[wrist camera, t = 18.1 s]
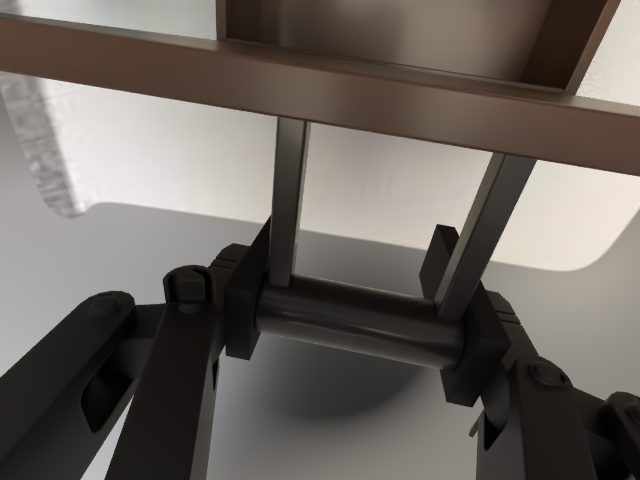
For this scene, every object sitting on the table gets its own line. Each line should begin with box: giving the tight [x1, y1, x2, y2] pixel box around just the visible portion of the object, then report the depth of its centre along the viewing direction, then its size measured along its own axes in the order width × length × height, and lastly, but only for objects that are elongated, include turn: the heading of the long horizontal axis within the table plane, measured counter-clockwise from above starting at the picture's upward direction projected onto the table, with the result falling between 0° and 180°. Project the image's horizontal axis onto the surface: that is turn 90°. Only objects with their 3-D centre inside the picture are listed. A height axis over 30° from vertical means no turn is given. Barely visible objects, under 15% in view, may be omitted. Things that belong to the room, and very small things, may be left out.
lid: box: [0, 13, 640, 371], centre depth 13 cm, size 14×19×8 cm
